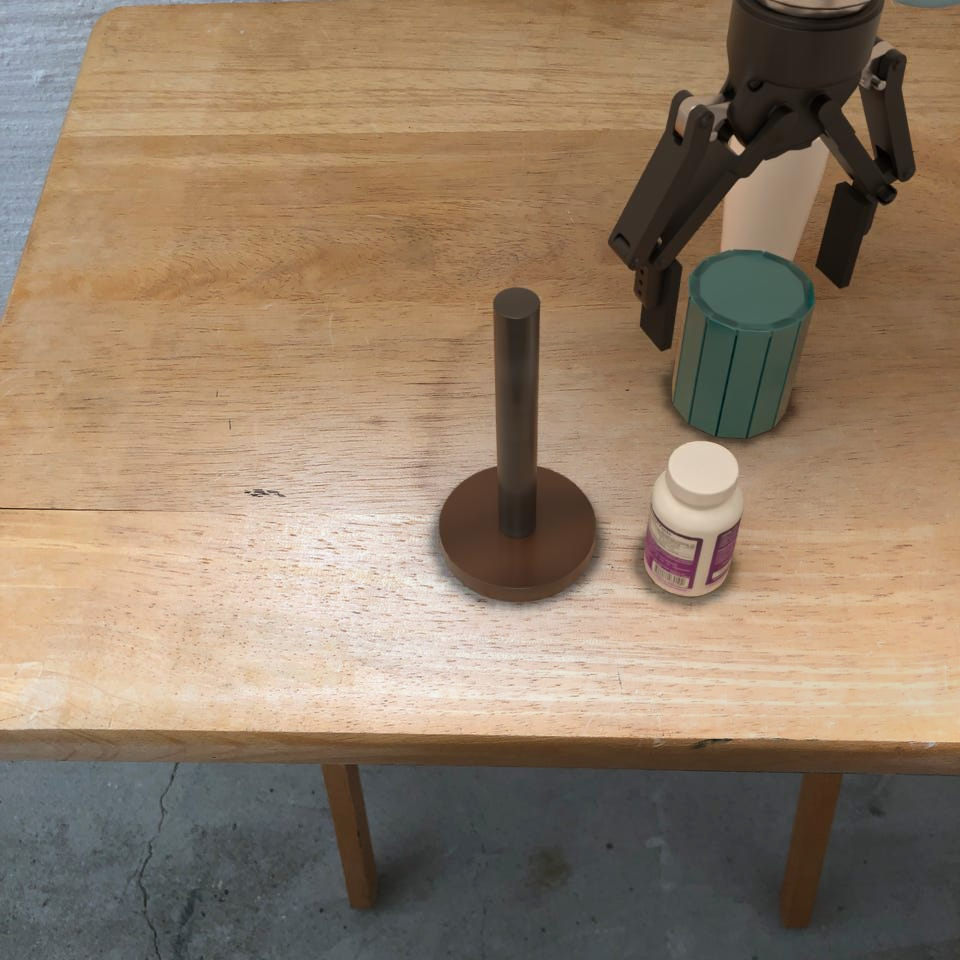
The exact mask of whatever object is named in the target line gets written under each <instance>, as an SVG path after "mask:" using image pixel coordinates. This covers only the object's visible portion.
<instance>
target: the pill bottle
mask: <svg viewBox="0 0 960 960" xmlns="http://www.w3.org/2000/svg"><path fill="white" fill-rule="evenodd" d="M738 463H739V462H738V461H737V459H736V457H735V455H734V454H733V453H732V452H731V451H729V449H727V448H726V447H724V446H722V445H720V444H718V443H715V442H712V441H707V440H693V441H689V442H685V443H683V444H681V445H679V446H678V447H677V448H676V449H674V450H673V452H672V453H671V454H670V455H669V459H668V462H667V466H666V469H664V471H663V472H661V473H660V474H659V476H658V477H657V479H656V480H655V482H654V484H653V487H652V491H651V496H650V503H649V510H648V518H647V526H646V533H645V542H644V548H643V564H644V567H645V570H646V572H647V574H648V576H649V578H651V579H652V580H653V582H654V584H655V585H656V586H658V587H659V588H661V589H663V590H664V591H667V592H668V593H671V594H675V595H678V596H683V597H699V596H703V595H707V594H709V593H711V592H712V591H714V590H716V589H718V588H719V587H720V586H721V585H722V584H723V582H724V581H725V579H726V578H727V576H728V574H729V570H730V567H731V563H732V560H733V556H734V555H733V554H734V551H735V547H736V543H737V538H738V534H739V530H740V526H741V521H742V516H743V513H744V507H745V496H744V492H743V489H742V487H741V485H740V483H739V474H740V468H739V464H738Z"/></svg>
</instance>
